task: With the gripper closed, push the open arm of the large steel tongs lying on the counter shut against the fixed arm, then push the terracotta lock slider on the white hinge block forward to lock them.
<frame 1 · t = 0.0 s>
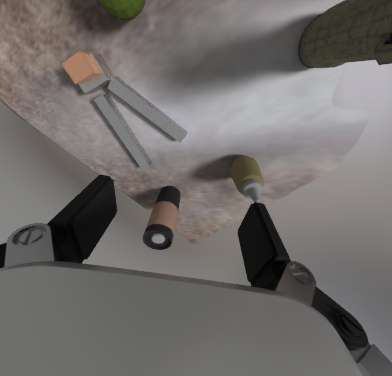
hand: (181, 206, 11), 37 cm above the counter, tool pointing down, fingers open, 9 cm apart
thermos: (319, 42, 34), on the counter
travel mug: (170, 193, 58), on the counter
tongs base: (102, 81, 39), on the counter
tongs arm: (151, 111, 41), point 1 cm above the counter, hinge at 28.5°, touching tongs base
lock slider: (80, 68, 33), point 5 cm above the counter, slide at 0.0 cm
squeeze bottle: (241, 163, 50), on the counter
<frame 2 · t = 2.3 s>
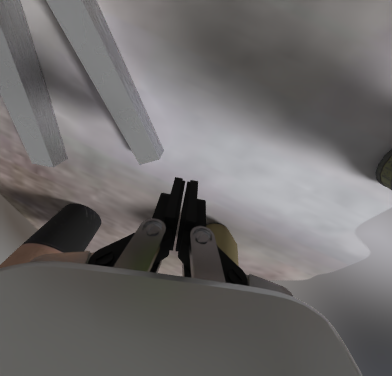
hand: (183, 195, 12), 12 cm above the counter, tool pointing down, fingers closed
travel mug: (83, 216, 32), on the counter
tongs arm: (106, 67, 16), point 1 cm above the counter, hinge at 28.5°, touching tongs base
squeeze bottle: (214, 231, 32), on the counter
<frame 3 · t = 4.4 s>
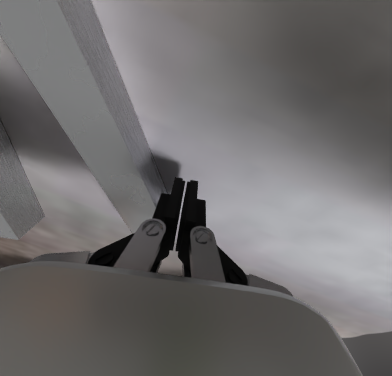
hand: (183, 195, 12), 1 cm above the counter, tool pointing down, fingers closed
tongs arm: (92, 100, 9), point 1 cm above the counter, hinge at 24.1°, touching gripper
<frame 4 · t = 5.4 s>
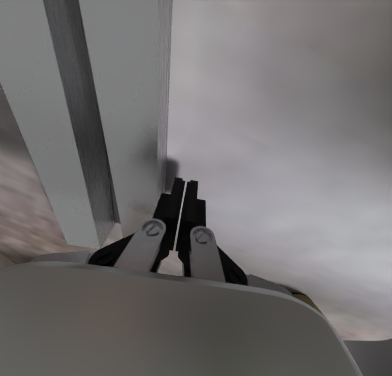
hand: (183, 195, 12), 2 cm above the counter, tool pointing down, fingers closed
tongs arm: (140, 136, 10), point 1 cm above the counter, hinge at 3.6°, touching gripper
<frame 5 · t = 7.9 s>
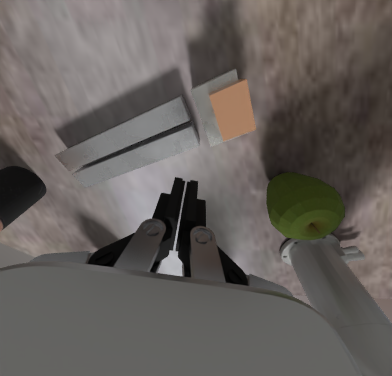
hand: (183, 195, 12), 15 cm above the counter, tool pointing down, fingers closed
travel mug: (26, 182, 31), on the counter
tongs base: (208, 111, 22), on the counter
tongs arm: (134, 157, 25), point 1 cm above the counter, hinge at -0.5°
apple: (279, 179, 28), on the counter
lock slider: (232, 111, 17), point 5 cm above the counter, slide at 0.0 cm
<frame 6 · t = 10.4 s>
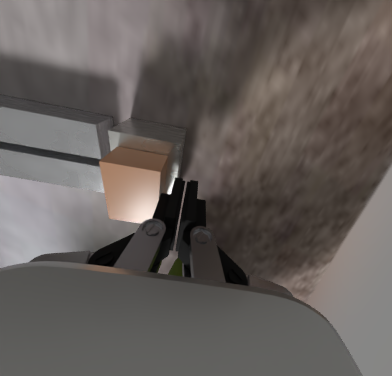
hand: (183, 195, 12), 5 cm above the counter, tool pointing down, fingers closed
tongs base: (142, 155, 16), on the counter
lock slider: (137, 187, 12), point 5 cm above the counter, slide at 1.2 cm, touching gripper
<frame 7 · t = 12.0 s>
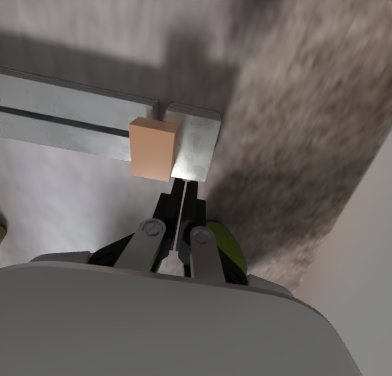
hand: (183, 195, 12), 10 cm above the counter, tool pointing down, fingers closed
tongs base: (178, 134, 19), on the counter
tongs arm: (62, 131, 18), point 1 cm above the counter, hinge at -0.5°
apple: (212, 224, 29), on the counter
lock slider: (154, 150, 15), point 5 cm above the counter, slide at 4.1 cm
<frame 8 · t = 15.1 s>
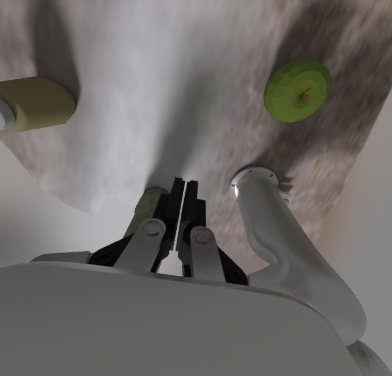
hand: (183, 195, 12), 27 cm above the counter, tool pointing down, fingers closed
thermos: (157, 198, 48), on the counter
apple: (275, 89, 31), on the counter
squeeze bottle: (62, 99, 34), on the counter
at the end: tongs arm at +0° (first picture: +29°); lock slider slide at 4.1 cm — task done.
